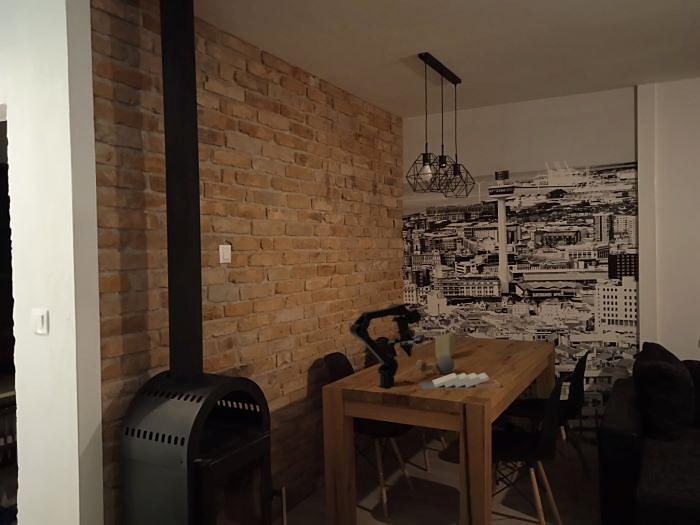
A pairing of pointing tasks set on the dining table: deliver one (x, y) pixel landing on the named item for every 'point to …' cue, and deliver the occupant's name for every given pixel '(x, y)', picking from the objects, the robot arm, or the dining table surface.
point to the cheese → (445, 345)
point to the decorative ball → (445, 364)
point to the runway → (431, 385)
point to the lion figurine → (427, 367)
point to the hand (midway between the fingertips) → (410, 356)
